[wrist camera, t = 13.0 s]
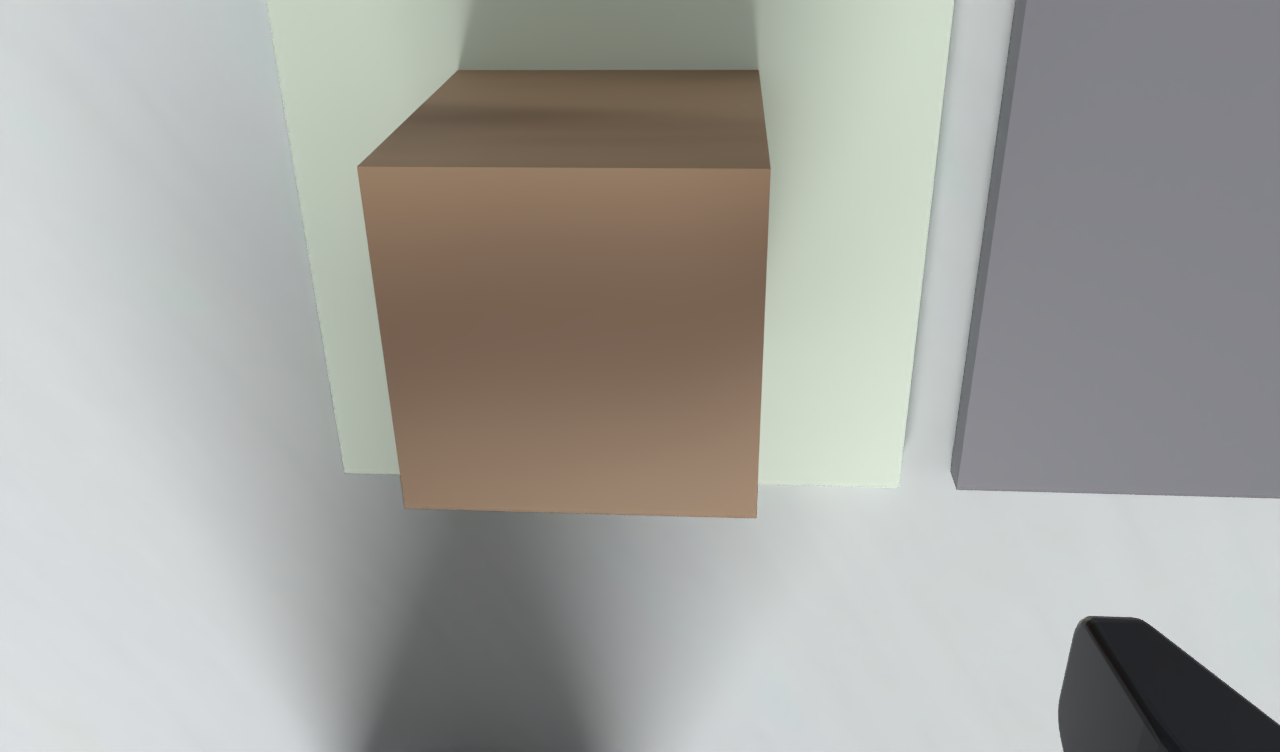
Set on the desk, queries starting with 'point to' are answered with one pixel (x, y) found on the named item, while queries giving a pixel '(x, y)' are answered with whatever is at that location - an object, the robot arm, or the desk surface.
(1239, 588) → the desk surface
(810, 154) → the pad
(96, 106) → the desk surface
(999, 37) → the desk surface
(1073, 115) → the pad
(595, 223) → the brown rectangular block
